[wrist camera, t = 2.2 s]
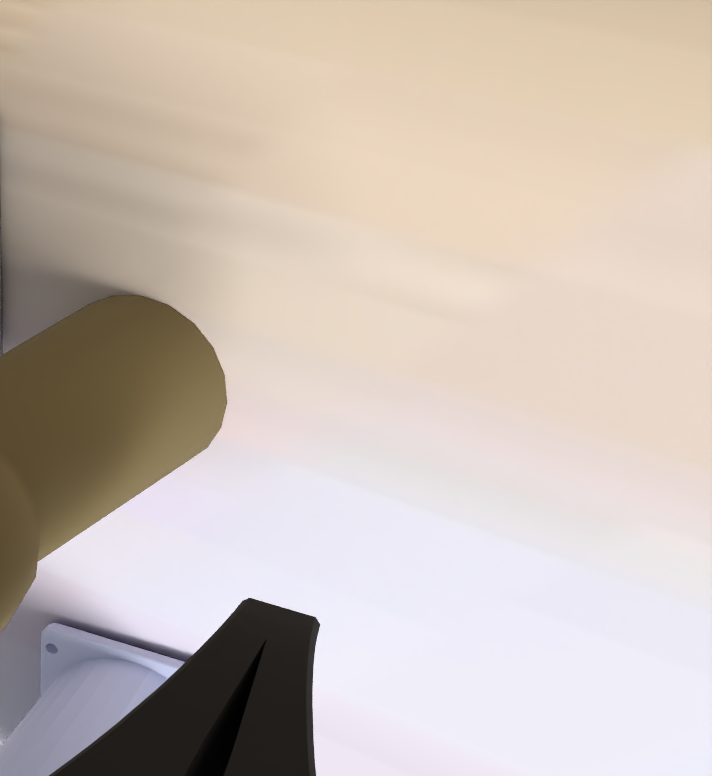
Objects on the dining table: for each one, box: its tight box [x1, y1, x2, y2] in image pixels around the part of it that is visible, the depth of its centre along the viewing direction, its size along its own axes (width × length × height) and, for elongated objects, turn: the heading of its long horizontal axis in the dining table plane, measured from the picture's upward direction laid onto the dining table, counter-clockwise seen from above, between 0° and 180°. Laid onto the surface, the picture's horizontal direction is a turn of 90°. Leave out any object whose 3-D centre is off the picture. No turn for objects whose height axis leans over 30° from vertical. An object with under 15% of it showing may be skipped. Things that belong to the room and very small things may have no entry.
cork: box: [0, 296, 227, 632], centre depth 14 cm, size 6×6×11 cm
